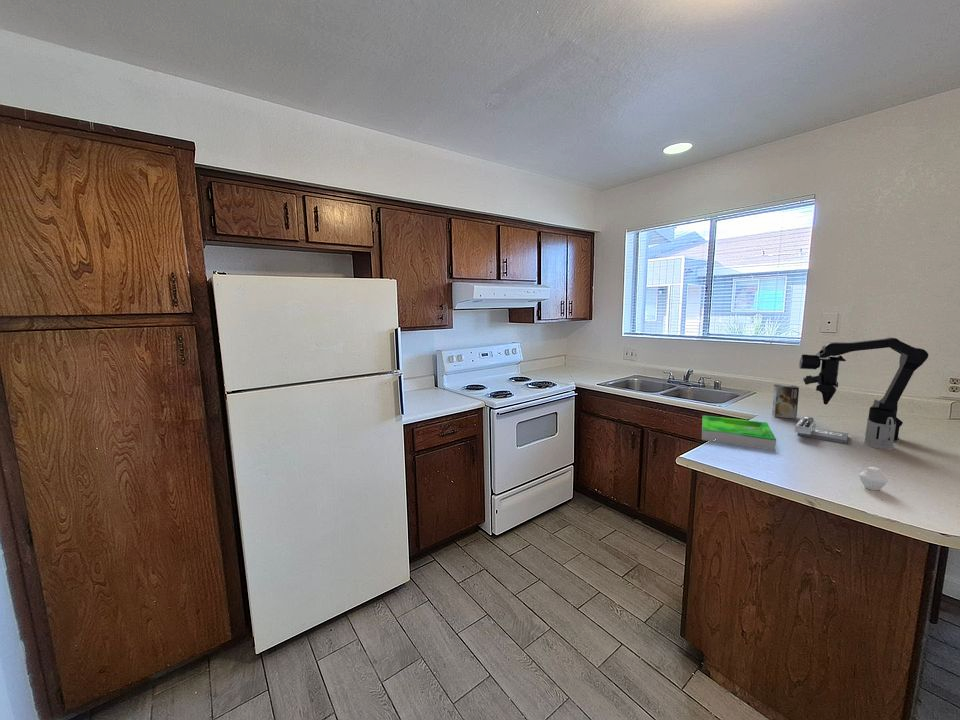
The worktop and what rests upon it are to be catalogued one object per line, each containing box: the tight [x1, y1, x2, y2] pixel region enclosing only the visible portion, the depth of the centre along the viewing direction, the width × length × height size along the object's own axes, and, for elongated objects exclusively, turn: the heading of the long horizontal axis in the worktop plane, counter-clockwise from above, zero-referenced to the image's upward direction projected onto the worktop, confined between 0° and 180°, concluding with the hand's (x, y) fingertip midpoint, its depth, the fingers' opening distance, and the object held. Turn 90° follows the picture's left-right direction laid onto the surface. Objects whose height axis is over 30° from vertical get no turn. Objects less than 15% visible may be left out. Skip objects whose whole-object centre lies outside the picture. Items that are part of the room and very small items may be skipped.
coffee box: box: [771, 384, 800, 419], centre depth 192 cm, size 9×6×16 cm
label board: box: [797, 427, 849, 445], centre depth 163 cm, size 16×12×2 cm
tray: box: [701, 414, 777, 451], centre depth 164 cm, size 25×25×5 cm
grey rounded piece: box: [862, 406, 898, 450], centre depth 148 cm, size 9×14×15 cm, turn 149°
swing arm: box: [794, 416, 816, 435], centre depth 163 cm, size 15×5×5 cm, turn 132°
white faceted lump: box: [858, 466, 889, 491], centre depth 115 cm, size 6×6×7 cm
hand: (825, 404), depth 169 cm, fingers closed
